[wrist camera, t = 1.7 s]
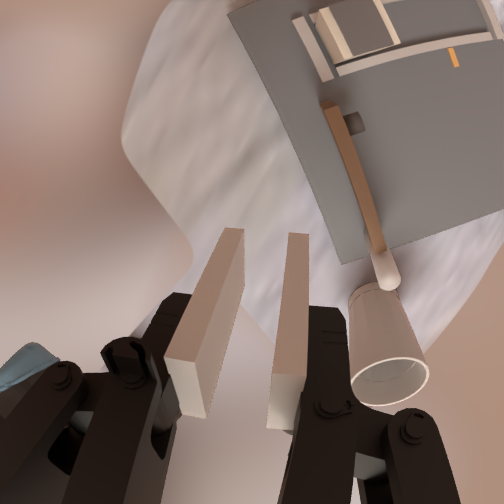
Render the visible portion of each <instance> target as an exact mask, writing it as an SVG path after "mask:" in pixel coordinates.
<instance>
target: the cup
mask: <svg viewBox="0 0 504 504" xmlns="http://www.w3.org/2000/svg"><path fill="white" fill-rule="evenodd" d="M348 309H349V363H350V377H351V386H352V391H353V393H354V395H355V396H356V398H357V399H358V400H359V401H360V402H361V403H362V404H364V405H368V406H385V405H391V404H395V403H398V402H401V401H403V400H406V399H408V398H409V397H411V396H413V395H414V394H416V393H417V392H418V391H419V390H421V389H422V388H423V386H424V385H425V384H426V382H427V380H428V377H429V368H428V366H427V363H426V361H425V358H424V356H423V353H422V351H421V348H420V346H419V344H418V341H417V339H416V337H415V334H414V332H413V329H412V327H411V325H410V322H409V320H408V318H407V315H406V313H405V311H404V308H403V306H402V304H401V302H400V299H399V296H398V293H397V291H396V290H395V289H393V290H390V291H386V290H383V289H381V288H380V286H379V284H378V282H371V283H368V284H365V285H363V286H361V287H359V288H358V289H357V290H355V291H354V293H353V294H352V295H351V297H350V299H349V302H348Z"/></svg>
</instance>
